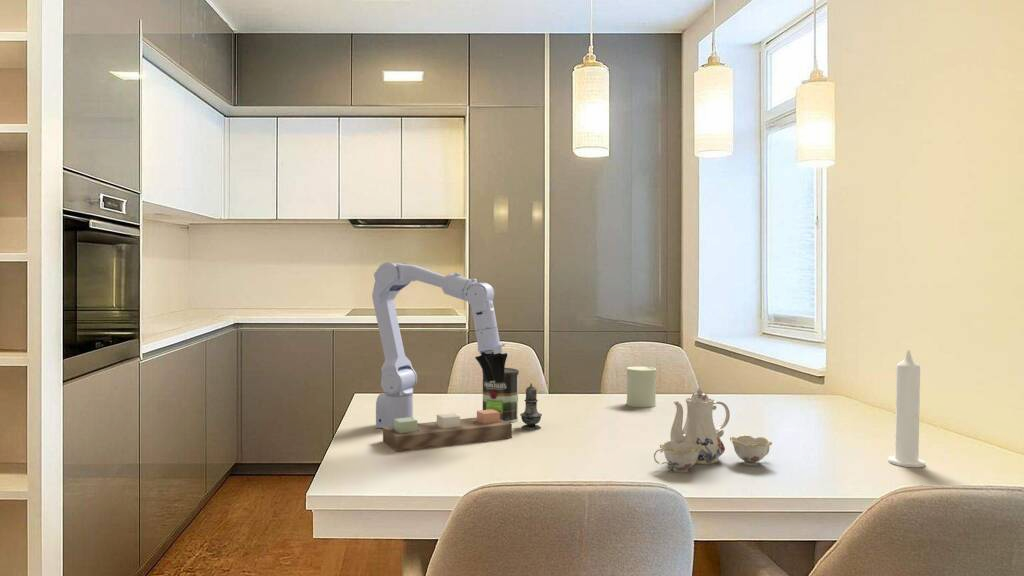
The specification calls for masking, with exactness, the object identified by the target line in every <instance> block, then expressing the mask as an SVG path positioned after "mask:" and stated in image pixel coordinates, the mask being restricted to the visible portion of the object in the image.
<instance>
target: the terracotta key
mask: <svg viewBox="0 0 1024 576" xmlns="http://www.w3.org/2000/svg"><path fill="white" fill-rule="evenodd" d="M476 417H477V422H479V423H482V424H490V423H499V422H500V412H498V411H495V410H493V409H489V410H483V409H482V410H480V409H479V410H476Z"/></svg>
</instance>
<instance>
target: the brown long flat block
mask: <svg viewBox="0 0 1024 576" xmlns="http://www.w3.org/2000/svg"><path fill="white" fill-rule="evenodd" d="M512 429H513V424H512V423H508V422H506V421H504V420H502V419H500V422H499V423H490V424H482V423H479V422H477V416H475V417H469V418H468V417H467V418H460V427H453V428H444V429H442V428H440V427H438V426H437V421H431V422H418V424H417V432H407V433H397V432H396V431H394V426H389V427H383V428H382V441H383V443H385V444H386V445H387V446H388V447H390V448H392V449H393V450H394V451H396V452H399V453H400V452H403V451H405V452H407V451H414V450H415V451H416V450H422V449H430V448H438V447H446V446H447V447H449V446H455V445H462V444H463V445H464V444H472V443H479V442H489V441H496V440H504V439H512V438H513V430H512Z"/></svg>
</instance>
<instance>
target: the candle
mask: <svg viewBox="0 0 1024 576" xmlns="http://www.w3.org/2000/svg"><path fill="white" fill-rule="evenodd" d="M906 350H907V351H906V353H905V357H904V358H903V360H901V361H900V362H898V363H897V364H896V368H895V369H896V370H895V373H896V375H895V376H896V377H895V378H896V380H895V381H896V382H895V429H894V430H895V431H894V436H895V437H894V438H895V441H894V443H895V444H894V455H891V456H888V458H887V459H888V460H887V461H888V462H889V463H890V464H892V465H895V466H899V467H902V468H903V467H905V468H915V469H918V468H923V467H925V466H926V461H925V460H924V459H921V458H919V454H920V453H919V451H920V447H919V445H920V443H919V442H920V404H921V403H920V401H921V400H920V399H921V398H920V394H921V393H920V392H921V366H920V364H918V363H917V362H916V361H915V360H914V359H913V358H912V354H911V350H909V349H906Z"/></svg>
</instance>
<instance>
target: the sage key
mask: <svg viewBox="0 0 1024 576" xmlns="http://www.w3.org/2000/svg"><path fill="white" fill-rule="evenodd" d="M417 422H418V420H417V419H415V418H414V417H413V418H412V417H408V418H398V419H394V431H396V432H397V433H407V432H417Z"/></svg>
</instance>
